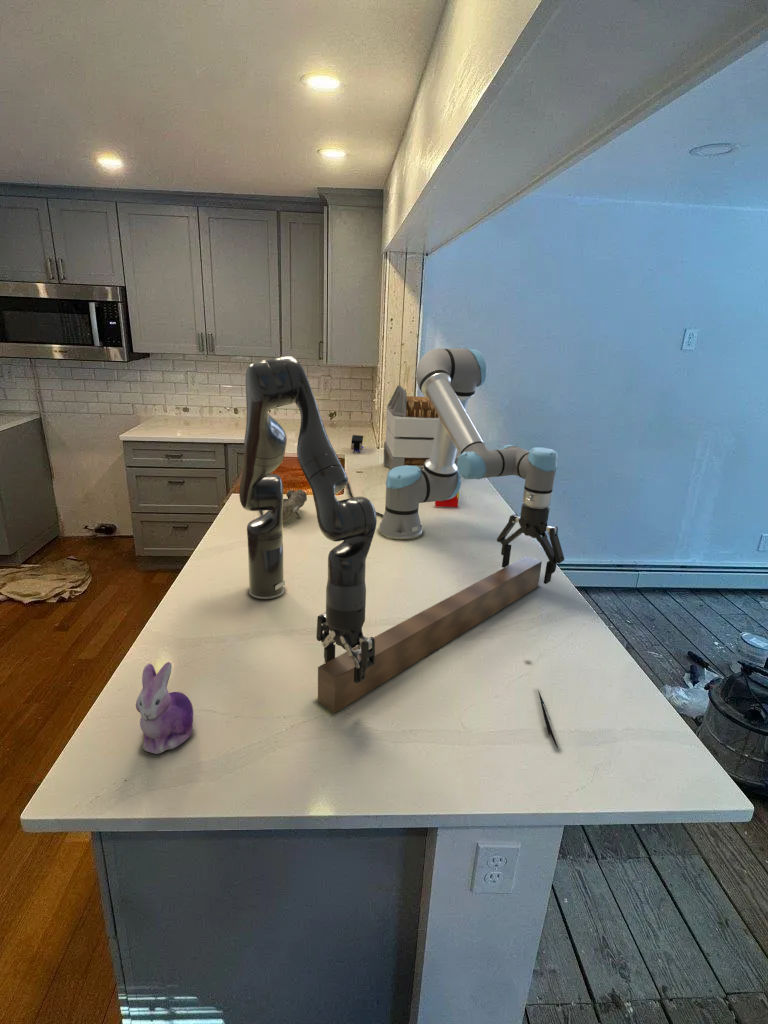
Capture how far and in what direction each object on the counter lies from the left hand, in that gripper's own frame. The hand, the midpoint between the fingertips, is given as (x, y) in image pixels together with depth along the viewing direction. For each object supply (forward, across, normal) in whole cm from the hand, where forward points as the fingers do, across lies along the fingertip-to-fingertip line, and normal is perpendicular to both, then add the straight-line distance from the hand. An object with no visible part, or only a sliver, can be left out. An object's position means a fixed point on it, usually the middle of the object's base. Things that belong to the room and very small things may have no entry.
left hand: (344, 671), depth 113 cm
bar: (+6, 0, +35) cm, 36 cm away
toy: (+7, -68, +120) cm, 138 cm away
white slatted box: (+7, -98, +141) cm, 171 cm away
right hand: (+2, 0, +71) cm, 71 cm away
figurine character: (+7, -148, +148) cm, 209 cm away
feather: (+6, +29, +28) cm, 41 cm away
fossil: (+7, -90, +56) cm, 106 cm away
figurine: (+6, -14, -31) cm, 34 cm away
